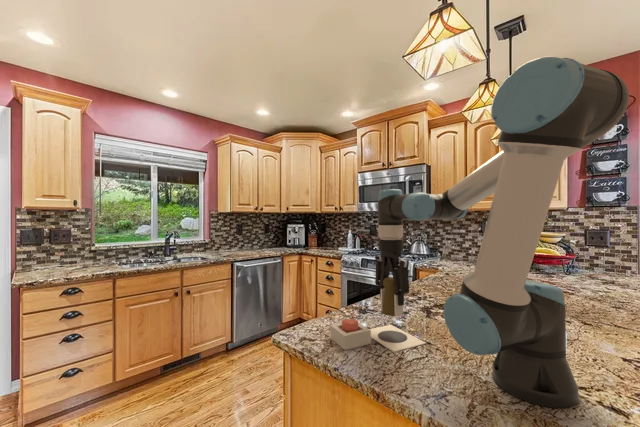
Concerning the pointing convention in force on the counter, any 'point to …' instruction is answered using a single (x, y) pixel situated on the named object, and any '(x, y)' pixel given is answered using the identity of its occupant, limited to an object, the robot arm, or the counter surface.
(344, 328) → the button
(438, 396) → the counter surface
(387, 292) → the brown pepper grinder
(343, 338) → the button housing
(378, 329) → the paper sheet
